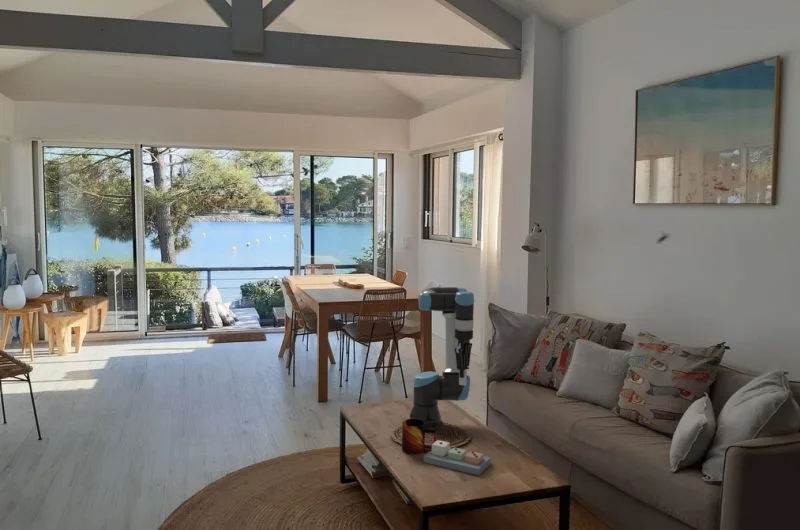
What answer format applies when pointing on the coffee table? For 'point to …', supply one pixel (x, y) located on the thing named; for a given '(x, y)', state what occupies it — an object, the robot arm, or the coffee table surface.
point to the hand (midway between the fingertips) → (462, 384)
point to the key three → (474, 458)
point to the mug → (415, 436)
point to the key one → (440, 448)
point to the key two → (457, 454)
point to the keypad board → (457, 463)
